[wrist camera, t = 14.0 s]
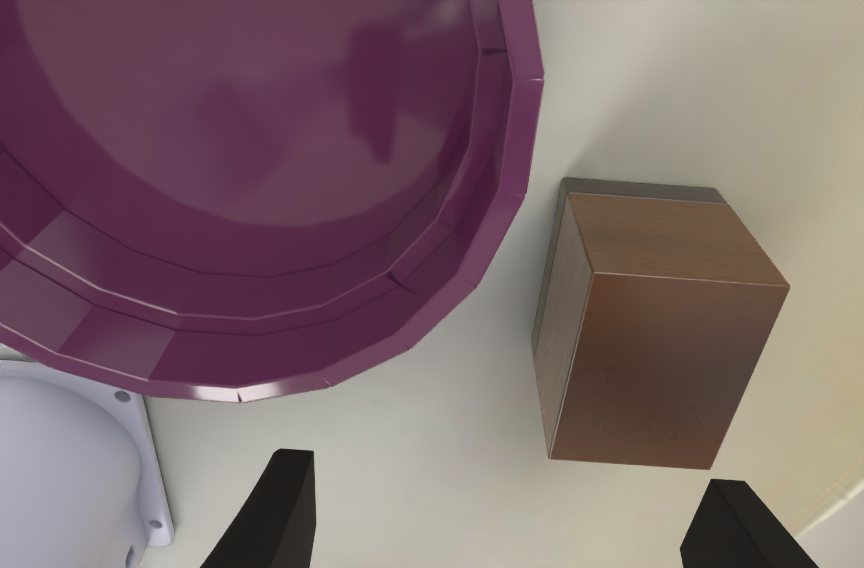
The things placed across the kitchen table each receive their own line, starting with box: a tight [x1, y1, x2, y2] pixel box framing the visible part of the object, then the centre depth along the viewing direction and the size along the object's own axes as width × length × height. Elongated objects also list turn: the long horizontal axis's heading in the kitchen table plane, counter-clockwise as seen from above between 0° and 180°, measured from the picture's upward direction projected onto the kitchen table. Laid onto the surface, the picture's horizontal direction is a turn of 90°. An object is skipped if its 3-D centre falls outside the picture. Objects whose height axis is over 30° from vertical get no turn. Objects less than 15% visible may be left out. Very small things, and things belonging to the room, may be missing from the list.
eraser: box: [531, 178, 790, 470], centre depth 18 cm, size 6×4×5 cm
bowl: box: [0, 0, 544, 403], centre depth 15 cm, size 15×15×5 cm
